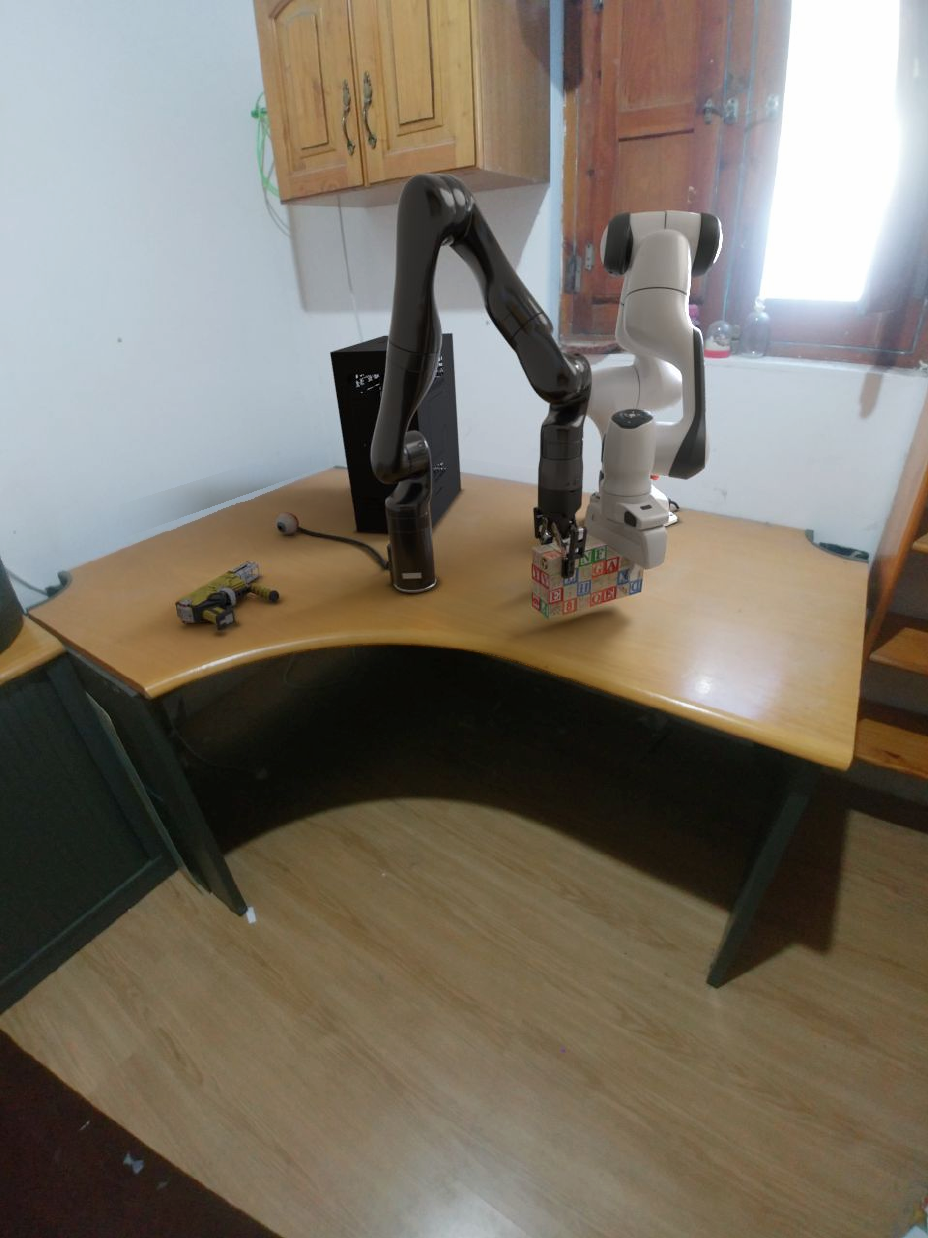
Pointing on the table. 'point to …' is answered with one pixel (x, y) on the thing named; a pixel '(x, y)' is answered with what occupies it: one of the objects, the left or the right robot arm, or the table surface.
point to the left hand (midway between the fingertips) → (557, 570)
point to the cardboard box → (429, 419)
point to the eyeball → (287, 523)
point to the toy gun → (222, 597)
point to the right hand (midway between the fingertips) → (618, 572)
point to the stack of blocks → (579, 578)
